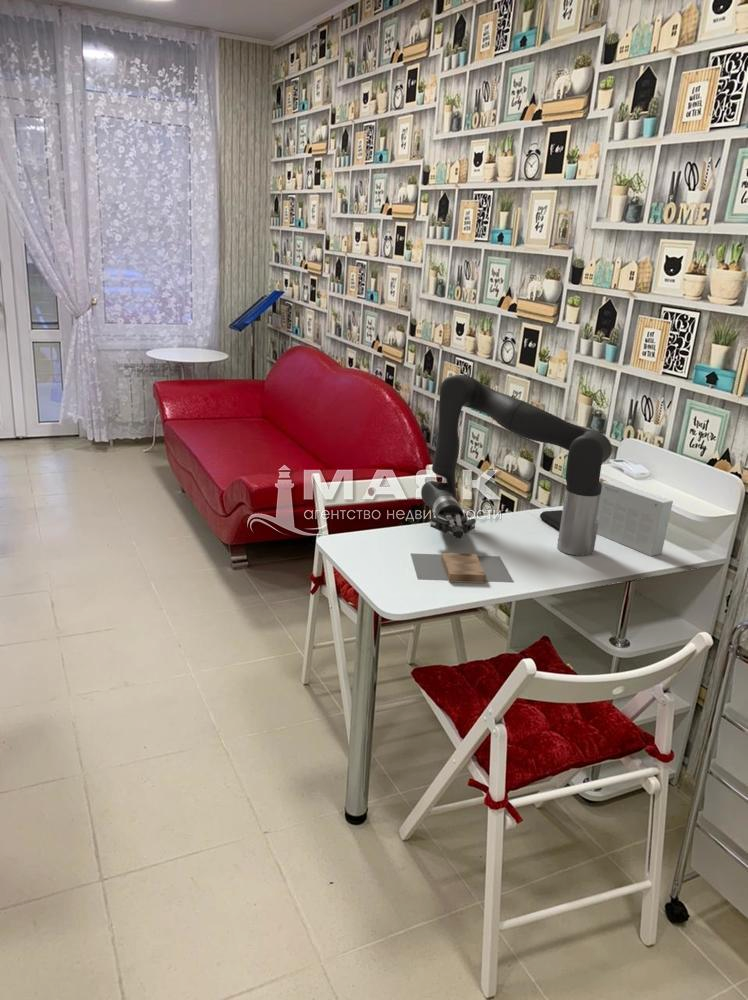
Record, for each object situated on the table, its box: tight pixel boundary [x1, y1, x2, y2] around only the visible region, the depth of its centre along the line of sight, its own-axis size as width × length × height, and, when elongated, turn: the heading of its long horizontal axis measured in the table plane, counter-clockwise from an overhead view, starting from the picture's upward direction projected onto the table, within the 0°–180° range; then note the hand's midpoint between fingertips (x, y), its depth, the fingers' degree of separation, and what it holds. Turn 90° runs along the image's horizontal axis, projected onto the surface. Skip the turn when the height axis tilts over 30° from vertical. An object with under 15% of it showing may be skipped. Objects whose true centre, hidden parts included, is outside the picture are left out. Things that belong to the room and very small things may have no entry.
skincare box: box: [596, 480, 674, 557], centre depth 216 cm, size 21×6×16 cm, turn 35°
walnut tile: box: [441, 552, 486, 584], centre depth 189 cm, size 9×2×13 cm
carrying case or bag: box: [539, 509, 563, 532], centre depth 229 cm, size 11×3×15 cm
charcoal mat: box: [410, 552, 515, 583], centre depth 192 cm, size 24×16×1 cm, turn 94°
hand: (458, 535), depth 196 cm, fingers closed
